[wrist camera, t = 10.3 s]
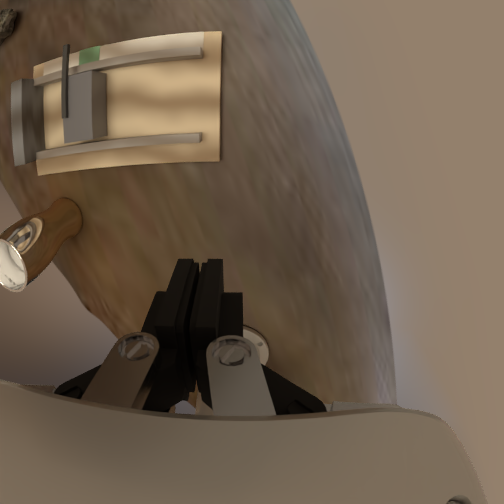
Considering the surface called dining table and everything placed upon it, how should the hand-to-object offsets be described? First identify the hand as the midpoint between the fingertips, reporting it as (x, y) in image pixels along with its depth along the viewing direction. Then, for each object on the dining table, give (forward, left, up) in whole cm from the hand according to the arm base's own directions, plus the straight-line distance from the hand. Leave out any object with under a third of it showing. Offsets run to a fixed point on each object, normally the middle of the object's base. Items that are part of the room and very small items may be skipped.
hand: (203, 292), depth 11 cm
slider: (+11, +17, -25) cm, 32 cm away
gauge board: (+9, +14, -27) cm, 32 cm away
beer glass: (-6, +24, -27) cm, 37 cm away
